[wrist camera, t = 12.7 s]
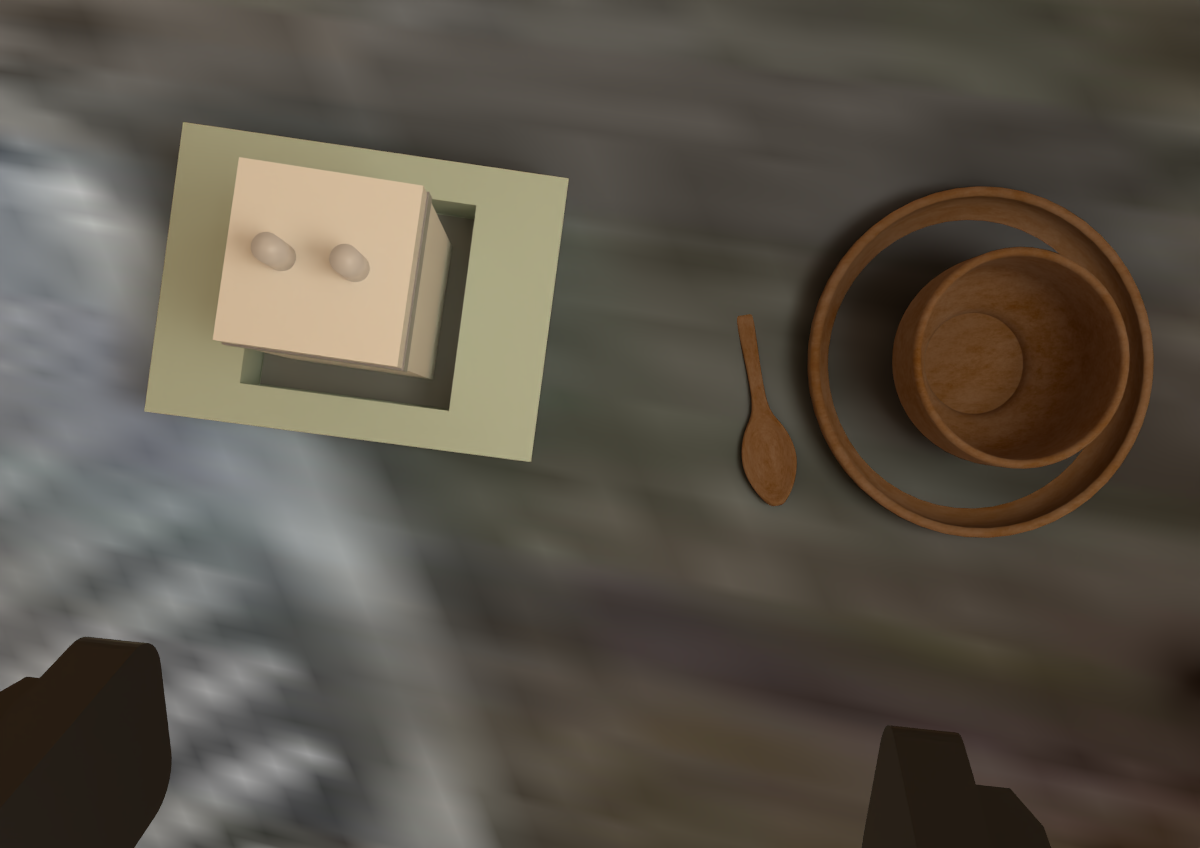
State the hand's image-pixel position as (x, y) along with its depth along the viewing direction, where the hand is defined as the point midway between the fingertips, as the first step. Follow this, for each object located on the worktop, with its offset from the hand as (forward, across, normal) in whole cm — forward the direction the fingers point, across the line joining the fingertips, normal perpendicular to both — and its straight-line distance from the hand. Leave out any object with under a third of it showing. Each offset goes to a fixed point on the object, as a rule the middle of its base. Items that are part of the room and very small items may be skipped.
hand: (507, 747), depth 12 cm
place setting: (+28, -12, +9) cm, 32 cm away
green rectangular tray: (+26, +9, +3) cm, 28 cm away
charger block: (+25, +9, +3) cm, 27 cm away
